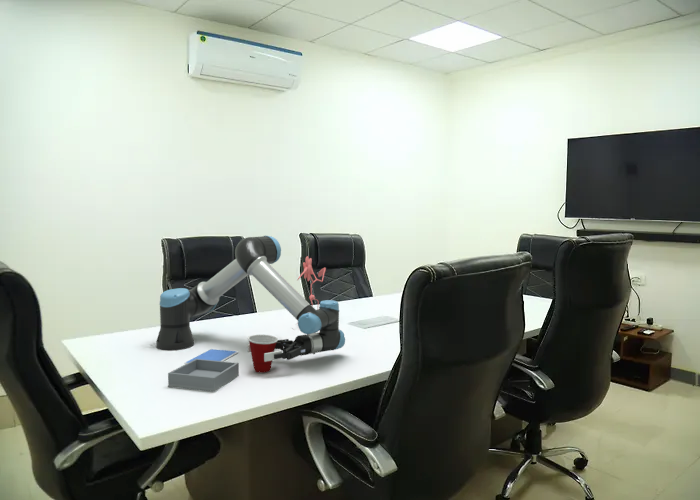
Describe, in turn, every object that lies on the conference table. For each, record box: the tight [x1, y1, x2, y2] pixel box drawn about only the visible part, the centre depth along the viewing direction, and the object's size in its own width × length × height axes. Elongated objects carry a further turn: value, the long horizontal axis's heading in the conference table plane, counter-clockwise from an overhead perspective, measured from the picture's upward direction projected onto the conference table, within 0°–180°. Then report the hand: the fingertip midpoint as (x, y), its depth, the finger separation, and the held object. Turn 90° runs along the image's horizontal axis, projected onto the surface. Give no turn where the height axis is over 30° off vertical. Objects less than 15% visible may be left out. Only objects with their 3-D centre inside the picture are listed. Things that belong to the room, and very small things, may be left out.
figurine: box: [292, 255, 327, 331], centre depth 251 cm, size 15×26×35 cm, turn 163°
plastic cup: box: [247, 334, 279, 374], centre depth 182 cm, size 11×11×12 cm
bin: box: [167, 359, 240, 393], centre depth 171 cm, size 17×17×4 cm
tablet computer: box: [184, 348, 238, 365], centre depth 197 cm, size 19×13×1 cm, turn 165°
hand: (255, 352), depth 180 cm, fingers open, 13 cm apart
